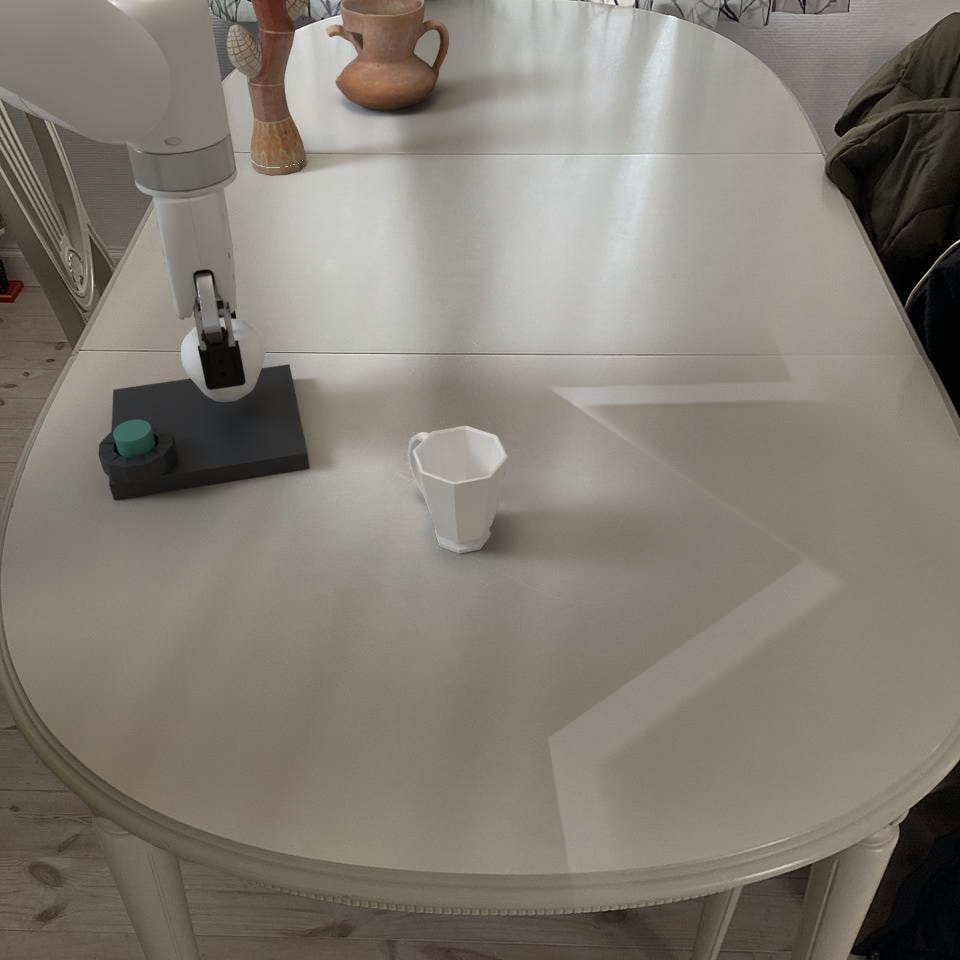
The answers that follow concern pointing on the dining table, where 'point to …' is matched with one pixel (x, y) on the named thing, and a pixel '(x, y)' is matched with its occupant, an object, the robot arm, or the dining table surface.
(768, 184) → the dining table surface
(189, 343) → the plain white apple
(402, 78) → the ceramic jug
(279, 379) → the scale
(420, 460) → the cup
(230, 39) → the vase
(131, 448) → the button
